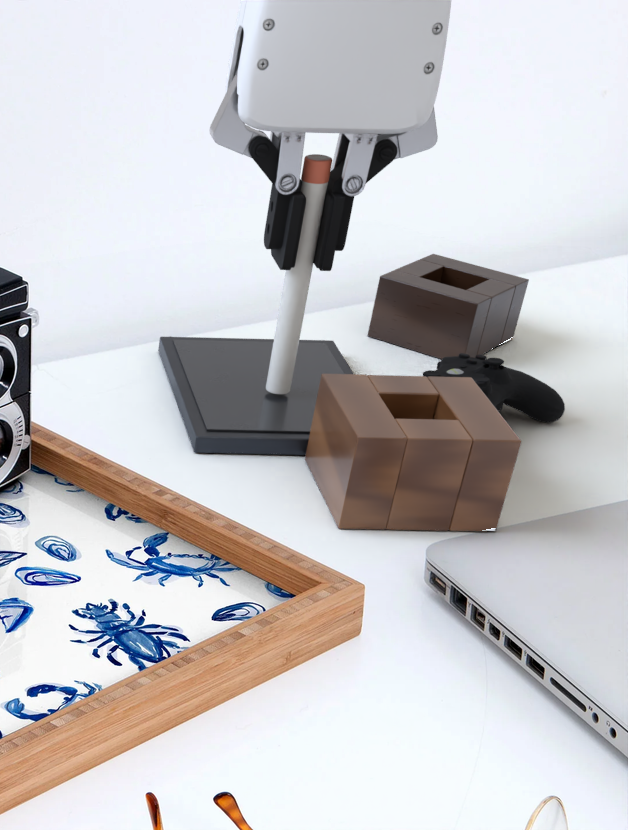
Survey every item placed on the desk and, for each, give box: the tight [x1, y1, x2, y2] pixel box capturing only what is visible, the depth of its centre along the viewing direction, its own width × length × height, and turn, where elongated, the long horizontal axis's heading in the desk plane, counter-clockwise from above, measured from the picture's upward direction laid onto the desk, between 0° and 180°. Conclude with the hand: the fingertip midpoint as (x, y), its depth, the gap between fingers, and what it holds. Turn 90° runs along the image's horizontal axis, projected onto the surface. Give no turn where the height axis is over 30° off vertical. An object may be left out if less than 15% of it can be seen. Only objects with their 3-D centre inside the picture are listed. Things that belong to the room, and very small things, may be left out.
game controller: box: [422, 353, 566, 423], centre depth 84 cm, size 10×5×7 cm
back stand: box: [367, 253, 530, 360], centre depth 95 cm, size 7×7×4 cm
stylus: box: [266, 153, 333, 394], centre depth 81 cm, size 1×1×13 cm
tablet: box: [157, 336, 355, 456], centre depth 86 cm, size 11×15×1 cm
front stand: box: [304, 373, 522, 532], centre depth 76 cm, size 8×8×5 cm
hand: (300, 260), depth 80 cm, fingers closed on stylus, 1 cm apart
